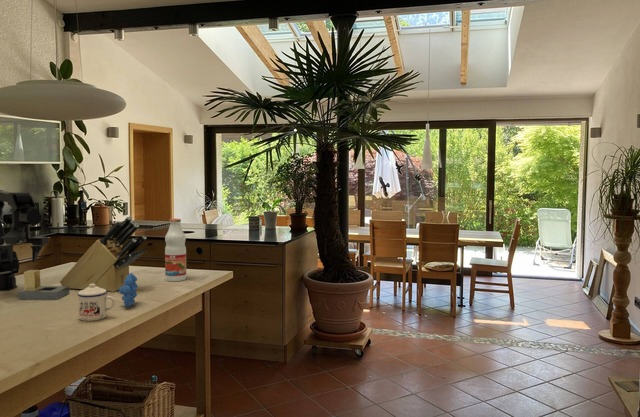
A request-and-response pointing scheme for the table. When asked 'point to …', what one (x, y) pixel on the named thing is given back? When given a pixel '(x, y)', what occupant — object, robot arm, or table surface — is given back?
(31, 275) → the wooden square beam
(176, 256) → the fruit juice
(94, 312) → the teacup with lid
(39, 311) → the table surface
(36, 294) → the rail plate
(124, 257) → the knife block
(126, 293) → the grapes
